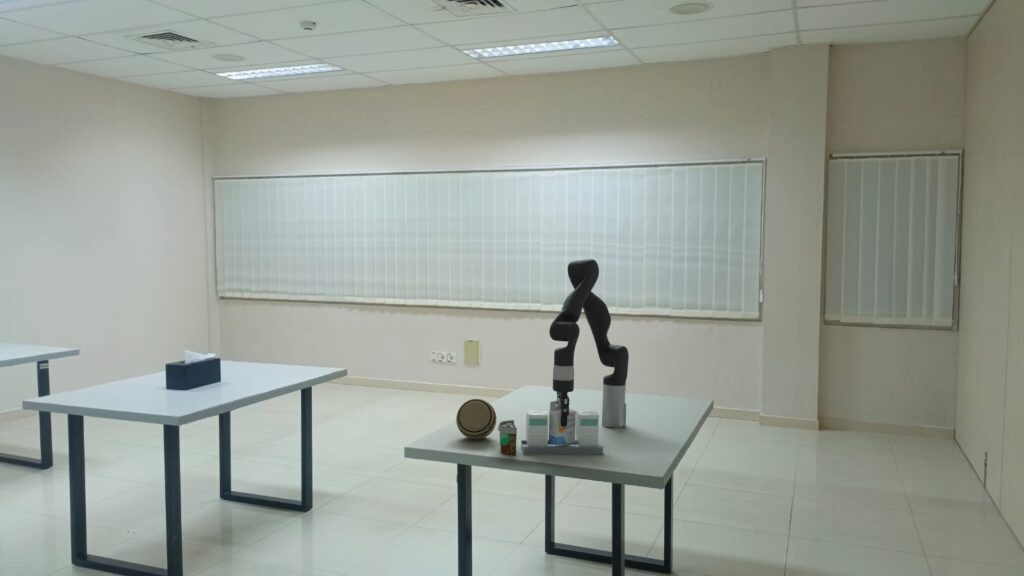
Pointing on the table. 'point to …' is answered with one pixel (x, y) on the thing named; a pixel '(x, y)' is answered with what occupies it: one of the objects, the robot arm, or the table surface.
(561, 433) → the ink box
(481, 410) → the mechanical component
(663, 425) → the table surface
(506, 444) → the food container
